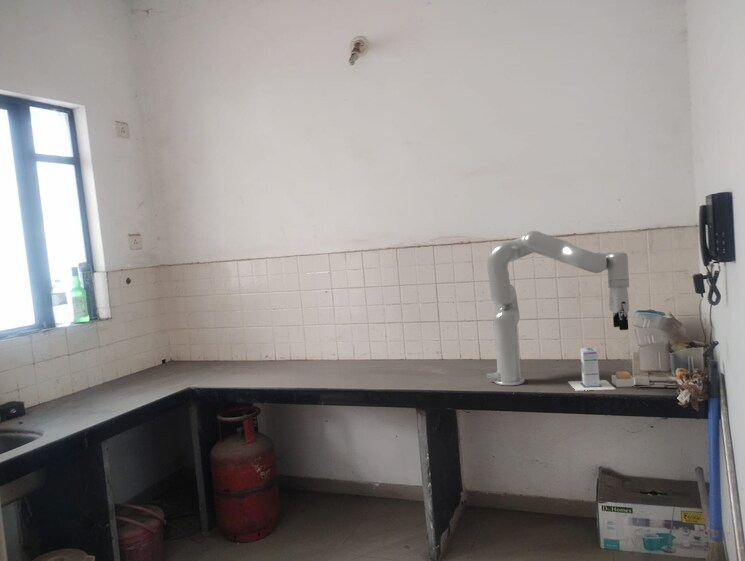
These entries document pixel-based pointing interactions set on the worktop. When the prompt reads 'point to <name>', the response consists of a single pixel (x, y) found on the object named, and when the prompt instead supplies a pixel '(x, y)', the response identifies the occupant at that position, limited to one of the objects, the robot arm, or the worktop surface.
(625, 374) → the button
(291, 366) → the worktop surface
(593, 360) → the syrup box
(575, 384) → the white square panel
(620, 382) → the button housing
